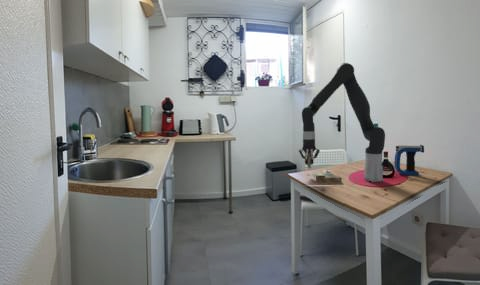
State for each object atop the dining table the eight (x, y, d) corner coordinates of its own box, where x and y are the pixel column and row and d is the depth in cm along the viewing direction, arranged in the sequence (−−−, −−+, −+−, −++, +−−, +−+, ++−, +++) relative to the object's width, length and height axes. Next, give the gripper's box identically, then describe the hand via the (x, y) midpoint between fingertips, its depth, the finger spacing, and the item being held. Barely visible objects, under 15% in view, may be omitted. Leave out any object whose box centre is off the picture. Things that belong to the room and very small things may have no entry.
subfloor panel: (332, 175, 179) (332, 173, 179) (341, 184, 159) (341, 182, 158) (311, 175, 181) (311, 173, 180) (317, 184, 160) (317, 182, 160)
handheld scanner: (423, 175, 172) (425, 145, 170) (395, 175, 175) (397, 145, 173) (419, 174, 176) (421, 144, 174) (393, 173, 180) (394, 144, 177)
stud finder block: (330, 176, 172) (330, 170, 171) (333, 179, 165) (333, 172, 164) (322, 176, 173) (322, 170, 172) (324, 179, 166) (324, 172, 165)
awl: (310, 167, 174) (310, 153, 172) (311, 168, 171) (311, 154, 170) (306, 167, 174) (306, 153, 173) (307, 168, 171) (307, 154, 170)
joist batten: (339, 180, 163) (339, 175, 163) (341, 182, 158) (341, 177, 158) (315, 180, 165) (315, 175, 164) (317, 182, 160) (317, 177, 159)
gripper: (298, 139, 167) (299, 166, 169) (321, 138, 165) (321, 165, 168) (297, 137, 174) (297, 163, 177) (318, 137, 173) (319, 163, 175)
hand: (309, 164), depth 172 cm, fingers closed on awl, 2 cm apart
